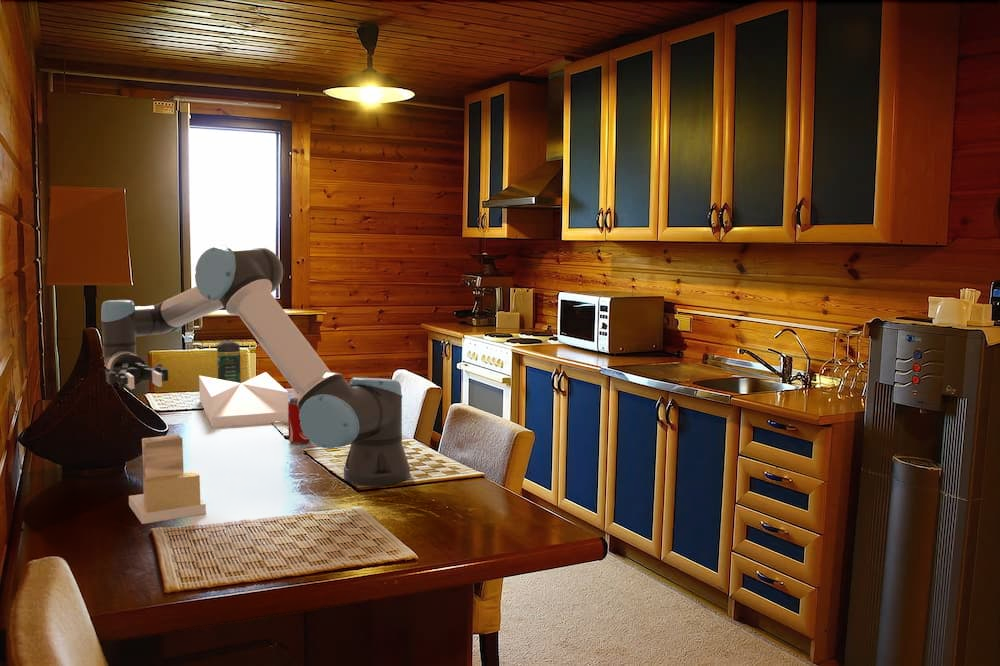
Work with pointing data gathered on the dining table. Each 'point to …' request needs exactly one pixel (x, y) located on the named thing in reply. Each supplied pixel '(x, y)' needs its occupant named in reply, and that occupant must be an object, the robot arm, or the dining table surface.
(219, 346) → the coffee jar
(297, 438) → the beverage can
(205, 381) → the building model
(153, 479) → the contact block
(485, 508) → the dining table surface
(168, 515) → the base
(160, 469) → the wooden tall block
